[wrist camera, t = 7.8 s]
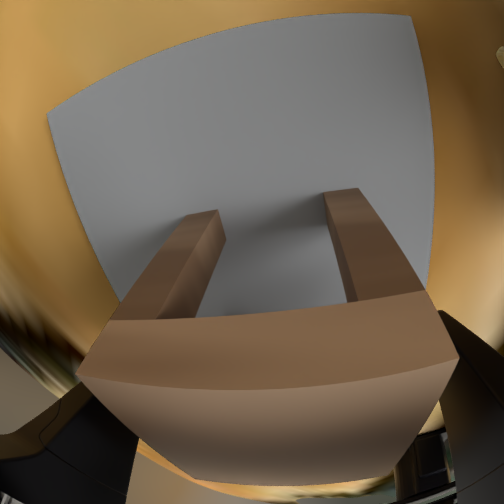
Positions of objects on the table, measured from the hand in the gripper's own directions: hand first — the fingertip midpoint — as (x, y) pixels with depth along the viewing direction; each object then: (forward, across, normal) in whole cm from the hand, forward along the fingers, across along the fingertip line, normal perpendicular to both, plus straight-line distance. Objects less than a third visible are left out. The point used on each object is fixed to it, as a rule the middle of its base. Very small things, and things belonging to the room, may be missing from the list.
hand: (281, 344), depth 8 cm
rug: (+4, +1, -1) cm, 4 cm away
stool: (+3, 0, 0) cm, 3 cm away
